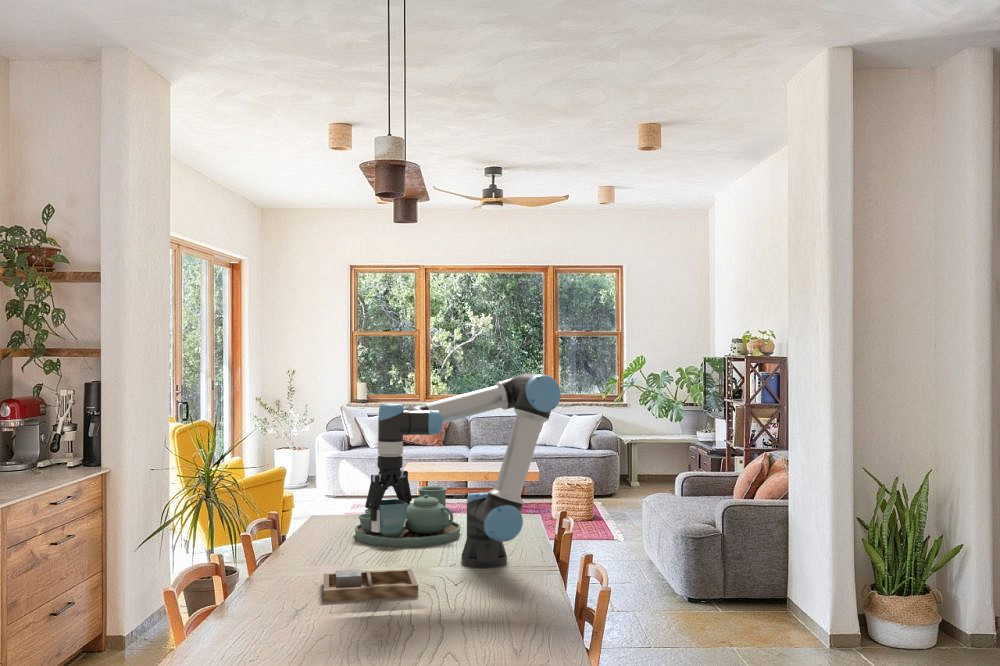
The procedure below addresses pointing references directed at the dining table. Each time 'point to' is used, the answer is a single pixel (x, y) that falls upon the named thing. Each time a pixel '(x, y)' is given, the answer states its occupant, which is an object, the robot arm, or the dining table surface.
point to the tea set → (416, 523)
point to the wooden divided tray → (373, 586)
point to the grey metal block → (348, 578)
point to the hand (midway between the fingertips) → (388, 528)
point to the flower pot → (392, 515)
